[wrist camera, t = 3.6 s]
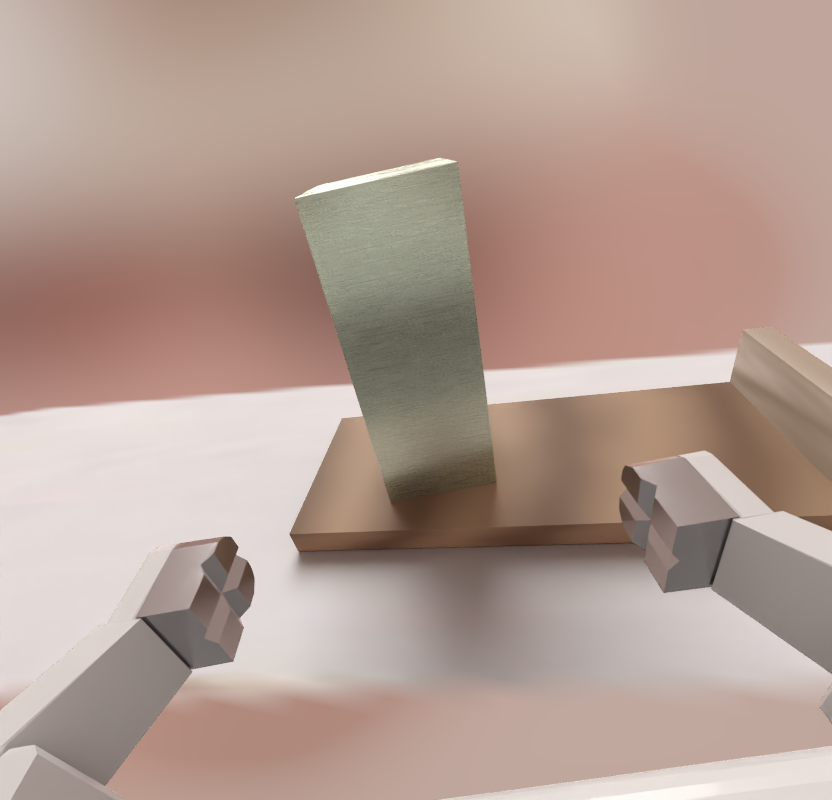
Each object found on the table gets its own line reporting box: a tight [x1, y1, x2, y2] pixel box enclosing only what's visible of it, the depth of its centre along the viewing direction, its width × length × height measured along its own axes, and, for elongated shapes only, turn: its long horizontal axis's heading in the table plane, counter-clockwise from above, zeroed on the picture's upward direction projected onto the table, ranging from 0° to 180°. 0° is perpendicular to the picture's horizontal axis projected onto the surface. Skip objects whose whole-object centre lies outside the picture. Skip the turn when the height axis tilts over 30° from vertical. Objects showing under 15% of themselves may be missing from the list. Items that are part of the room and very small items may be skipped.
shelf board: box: [290, 327, 832, 551], centre depth 20 cm, size 24×9×4 cm, turn 83°
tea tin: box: [295, 158, 497, 502], centre depth 18 cm, size 5×5×13 cm
